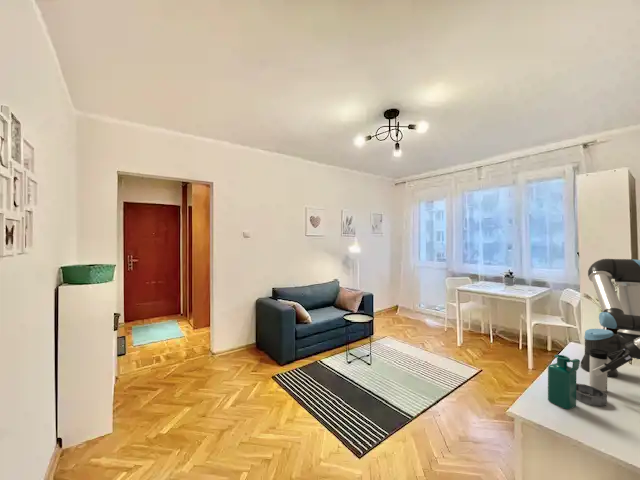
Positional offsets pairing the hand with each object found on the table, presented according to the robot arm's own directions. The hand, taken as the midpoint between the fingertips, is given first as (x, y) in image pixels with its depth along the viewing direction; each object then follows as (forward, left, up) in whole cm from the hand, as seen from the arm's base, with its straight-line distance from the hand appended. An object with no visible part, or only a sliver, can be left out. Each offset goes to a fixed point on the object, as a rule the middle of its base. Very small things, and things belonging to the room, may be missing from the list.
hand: (595, 369), depth 140 cm
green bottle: (+29, +7, -11) cm, 31 cm away
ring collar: (+13, +6, -10) cm, 18 cm away
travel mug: (-1, +1, -11) cm, 11 cm away
